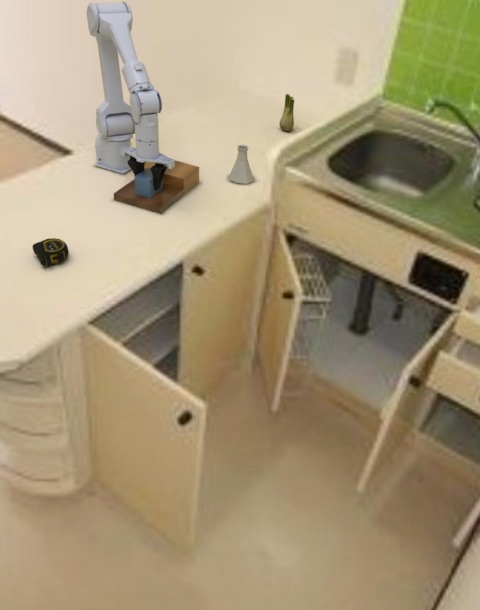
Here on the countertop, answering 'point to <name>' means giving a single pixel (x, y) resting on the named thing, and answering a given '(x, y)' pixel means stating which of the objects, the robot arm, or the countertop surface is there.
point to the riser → (173, 189)
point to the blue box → (145, 184)
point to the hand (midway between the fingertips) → (149, 186)
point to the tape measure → (51, 251)
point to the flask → (241, 167)
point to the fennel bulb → (287, 114)
